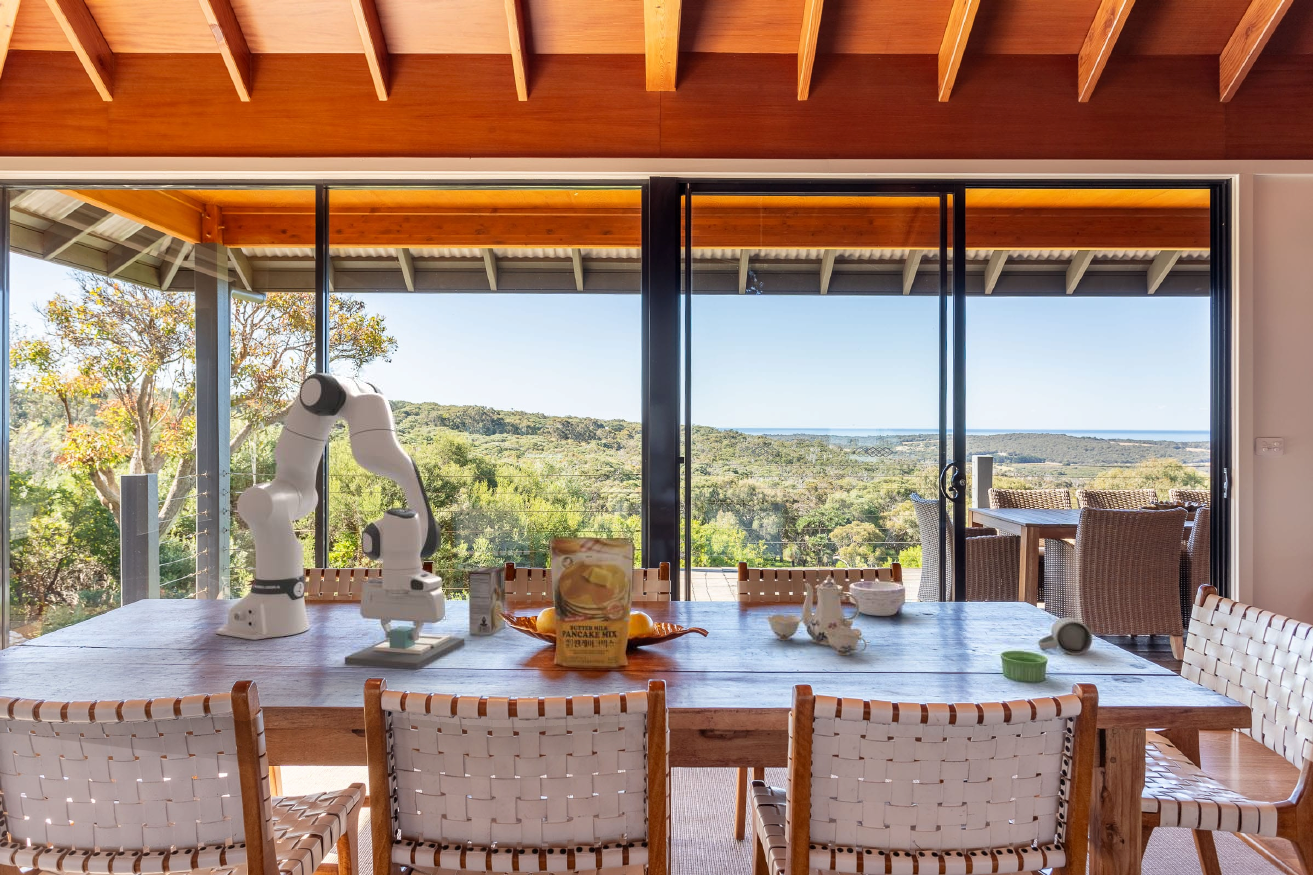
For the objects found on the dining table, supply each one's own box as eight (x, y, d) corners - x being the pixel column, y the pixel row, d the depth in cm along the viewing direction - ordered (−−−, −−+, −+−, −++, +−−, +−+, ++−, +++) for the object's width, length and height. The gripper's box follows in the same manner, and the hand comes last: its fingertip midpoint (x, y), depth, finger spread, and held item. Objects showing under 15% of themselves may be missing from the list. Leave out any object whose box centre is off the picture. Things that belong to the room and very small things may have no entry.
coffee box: (483, 625, 210) (483, 565, 210) (506, 626, 209) (505, 566, 208) (468, 634, 201) (468, 571, 201) (492, 635, 200) (491, 572, 200)
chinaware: (755, 645, 196) (751, 580, 194) (792, 626, 208) (789, 565, 207) (857, 668, 177) (853, 596, 175) (892, 646, 189) (888, 578, 187)
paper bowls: (861, 604, 235) (861, 578, 234) (912, 611, 226) (912, 583, 226) (841, 614, 222) (841, 586, 222) (894, 621, 213) (894, 592, 213)
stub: (373, 650, 181) (373, 629, 181) (385, 645, 185) (385, 624, 185) (420, 653, 178) (420, 632, 177) (430, 648, 182) (430, 628, 182)
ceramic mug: (1083, 646, 188) (1082, 614, 188) (1093, 656, 180) (1092, 622, 180) (1034, 644, 191) (1034, 612, 191) (1042, 653, 183) (1041, 620, 183)
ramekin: (1033, 670, 170) (1033, 650, 170) (1056, 683, 161) (1056, 662, 161) (992, 670, 170) (992, 650, 170) (1013, 684, 161) (1013, 662, 161)
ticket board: (344, 663, 175) (344, 653, 175) (399, 639, 196) (399, 630, 196) (416, 670, 171) (416, 658, 171) (464, 644, 191) (464, 634, 191)
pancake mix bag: (552, 658, 179) (551, 535, 179) (635, 660, 178) (635, 536, 178) (545, 667, 173) (545, 539, 172) (632, 669, 171) (631, 540, 171)
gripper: (354, 579, 181) (354, 639, 181) (433, 583, 175) (434, 645, 176) (370, 574, 187) (371, 632, 187) (448, 578, 182) (448, 638, 182)
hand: (402, 639), depth 181 cm, fingers open, 5 cm apart
